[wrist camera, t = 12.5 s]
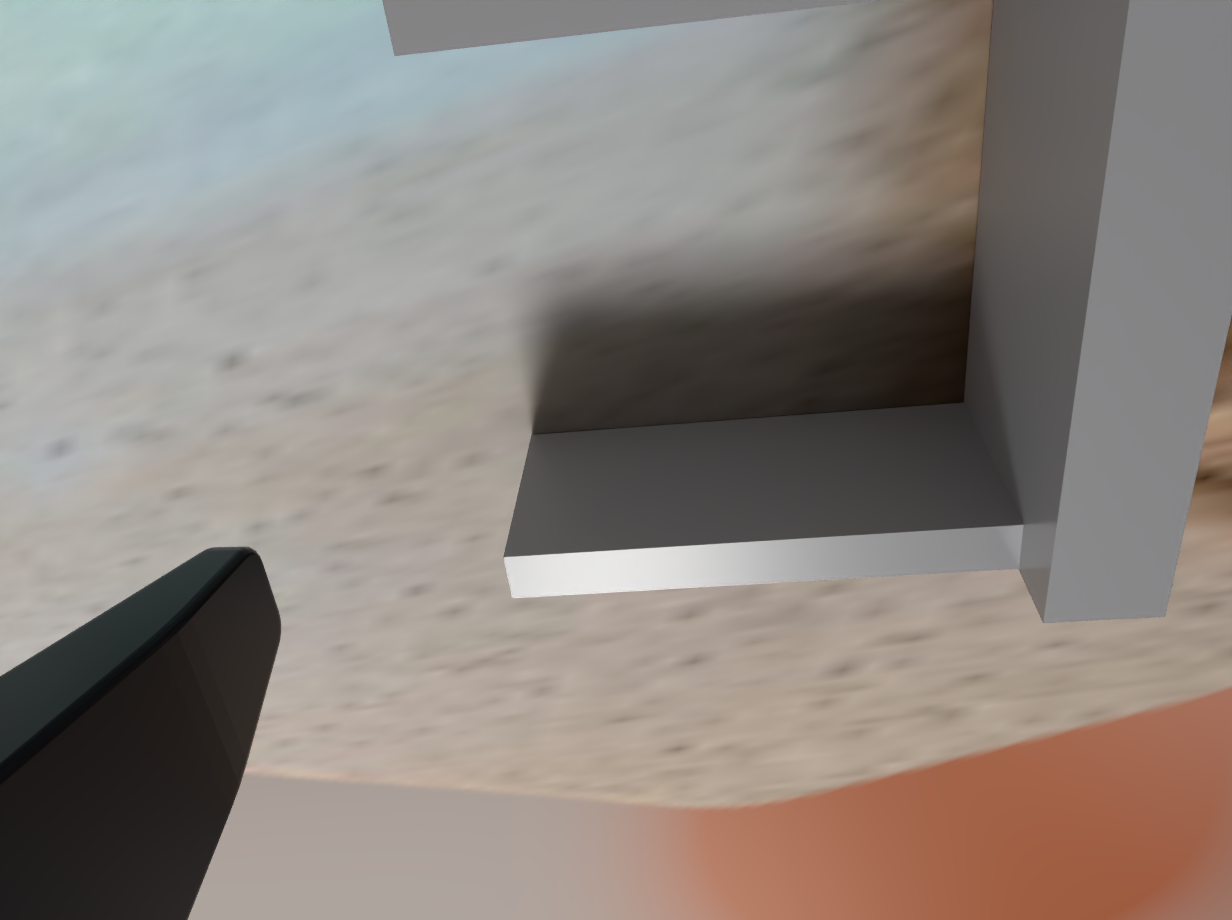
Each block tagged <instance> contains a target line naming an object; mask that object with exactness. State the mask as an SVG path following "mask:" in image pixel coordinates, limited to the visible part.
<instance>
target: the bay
mask: <svg viewBox="0 0 1232 920" xmlns="http://www.w3.org/2000/svg"><path fill="white" fill-rule="evenodd" d="M870 1H878V0H383V5H384V10H385V14H386V19H387V23H388V28H389V33H390V37H391V42H392V46H393V51H394V56H399V55H407V54H416V53H425V52H433V51H442V50H451V49H460V48H468V47H477V46H486V45H494V44H503V43H512V42H521V41H529V40H538V39H547V38H556V37H564V36H573V35H582V34H590V33H599V32H608V31H617V30H625V29H634V28H643V27H651V26H660V25H669V24H678V23H686V22H695V21H704V20H713V19H721V18H730V17H739V16H747V15H756V14H765V13H774V12H782V11H791V10H800V9H808V8H817V7H826V6H835V5H843V4H852V3H861V2H870ZM1231 315H1232V0H994V1H993V14H992V28H991V41H990V55H989V68H988V82H987V96H986V109H985V123H984V136H983V150H982V163H981V177H980V190H979V204H978V217H977V231H976V244H975V258H974V272H973V285H972V299H971V312H970V326H969V339H968V353H967V366H966V380H965V393H964V403H953V404H939V405H926V406H912V407H899V408H886V409H872V410H859V411H845V412H832V413H819V414H805V415H792V416H778V417H765V418H752V419H738V420H725V421H712V422H698V423H685V424H671V425H658V426H645V427H631V428H618V429H604V430H591V431H578V432H564V433H551V434H537V435H532V436H531V440H530V444H529V449H528V453H527V457H526V462H525V466H524V470H523V475H522V479H521V483H520V488H519V492H518V496H517V501H516V505H515V509H514V514H513V518H512V522H511V527H510V531H509V535H508V540H507V544H506V548H505V553H504V557H503V558H504V562H505V567H506V571H507V576H508V581H509V585H510V590H511V594H512V598H524V597H541V596H559V595H576V594H593V593H610V592H627V591H644V590H662V589H679V588H696V587H713V586H730V585H747V584H765V583H782V582H799V581H816V580H833V579H850V578H868V577H885V576H902V575H919V574H936V573H953V572H971V571H988V570H1005V569H1019V571H1020V573H1021V575H1022V577H1023V580H1024V582H1025V584H1026V586H1027V588H1028V591H1029V593H1030V595H1031V597H1032V599H1033V602H1034V604H1035V606H1036V608H1037V610H1038V613H1039V615H1040V617H1041V619H1042V621H1043V623H1054V622H1073V621H1092V620H1111V619H1130V618H1149V617H1165V615H1166V610H1167V606H1168V601H1169V597H1170V592H1171V588H1172V583H1173V579H1174V574H1175V569H1176V565H1177V560H1178V556H1179V551H1180V547H1181V542H1182V538H1183V533H1184V529H1185V524H1186V520H1187V515H1188V510H1189V506H1190V501H1191V497H1192V492H1193V488H1194V483H1195V479H1196V474H1197V470H1198V465H1199V461H1200V456H1201V451H1202V447H1203V442H1204V438H1205V433H1206V429H1207V424H1208V420H1209V415H1210V411H1211V406H1212V401H1213V397H1214V392H1215V388H1216V383H1217V379H1218V374H1219V370H1220V365H1221V361H1222V356H1223V352H1224V347H1225V342H1226V338H1227V333H1228V329H1229V324H1230V320H1231Z"/></svg>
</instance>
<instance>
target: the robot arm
mask: <svg viewBox="0 0 1232 920" xmlns="http://www.w3.org/2000/svg"><path fill="white" fill-rule="evenodd" d="M280 637H281V620H280V615H279V611H278V608H277V605H276V602H275V599H274V596H273V593H272V590H271V587H270V584H269V581H268V578H267V575H266V572H265V569H264V566H263V563H262V560H261V558H260V556H259V555H258V553H257V552H256V551H255V550H253V549H252V548H250V547H214V548H209V549H206V550H204V551H203V552H201V553H199V554H198V555H196V556H194V557H193V558H191V559H190V560H188V561H186V562H185V563H183V564H182V565H180V566H178V567H177V568H175V569H173V570H172V571H170V572H169V573H167V574H165V575H164V576H162V577H160V578H159V579H157V580H156V581H154V582H152V583H151V584H149V585H148V586H146V587H144V588H143V589H141V590H139V591H138V592H136V593H135V594H133V595H131V596H130V597H128V598H126V599H125V600H123V601H122V602H120V603H118V604H117V605H115V606H114V607H112V608H110V609H109V610H107V611H105V612H104V613H102V614H101V615H99V616H97V617H96V618H94V619H92V620H91V621H89V622H88V623H86V624H84V625H83V626H81V627H79V628H78V629H76V630H75V631H73V632H71V633H70V634H68V635H67V636H65V637H63V638H62V639H60V640H58V641H57V642H55V643H54V644H52V645H50V646H49V647H47V648H45V649H44V650H42V651H41V652H39V653H37V654H36V655H34V656H33V657H31V658H29V659H28V660H26V661H24V662H23V663H21V664H20V665H18V666H16V667H15V668H13V669H11V670H10V671H8V672H7V673H5V674H3V675H2V676H0V920H188V917H189V914H190V912H191V909H192V907H193V904H194V902H195V899H196V897H197V894H198V892H199V889H200V887H201V884H202V882H203V879H204V877H205V874H206V872H207V869H208V866H209V864H210V861H211V859H212V856H213V854H214V851H215V849H216V846H217V844H218V841H219V839H220V836H221V834H222V831H223V829H224V826H225V824H226V821H227V819H228V816H229V814H230V811H231V808H232V805H233V803H234V800H235V797H236V795H237V792H238V789H239V787H240V783H241V780H242V777H243V774H244V770H245V767H246V764H247V761H248V757H249V753H250V749H251V746H252V742H253V738H254V735H255V731H256V727H257V724H258V720H259V716H260V713H261V709H262V705H263V702H264V698H265V694H266V690H267V687H268V683H269V679H270V676H271V672H272V668H273V665H274V661H275V657H276V654H277V650H278V646H279V642H280Z"/></svg>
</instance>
